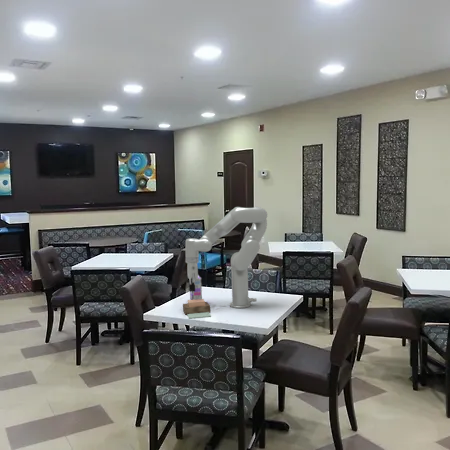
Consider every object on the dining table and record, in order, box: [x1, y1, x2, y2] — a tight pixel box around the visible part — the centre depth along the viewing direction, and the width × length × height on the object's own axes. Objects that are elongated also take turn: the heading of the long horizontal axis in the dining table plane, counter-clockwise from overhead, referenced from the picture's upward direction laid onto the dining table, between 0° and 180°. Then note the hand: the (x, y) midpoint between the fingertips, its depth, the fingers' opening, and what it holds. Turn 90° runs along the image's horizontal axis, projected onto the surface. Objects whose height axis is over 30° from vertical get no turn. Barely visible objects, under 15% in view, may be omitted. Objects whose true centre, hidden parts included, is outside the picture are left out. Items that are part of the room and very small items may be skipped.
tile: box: [187, 298, 206, 307], centre depth 265 cm, size 9×6×2 cm, turn 103°
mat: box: [186, 312, 212, 320], centre depth 258 cm, size 12×8×1 cm, turn 103°
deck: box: [182, 301, 211, 316], centre depth 266 cm, size 14×9×4 cm, turn 103°
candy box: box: [189, 274, 203, 300], centre depth 285 cm, size 14×6×16 cm, turn 11°
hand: (192, 291), depth 273 cm, fingers closed
